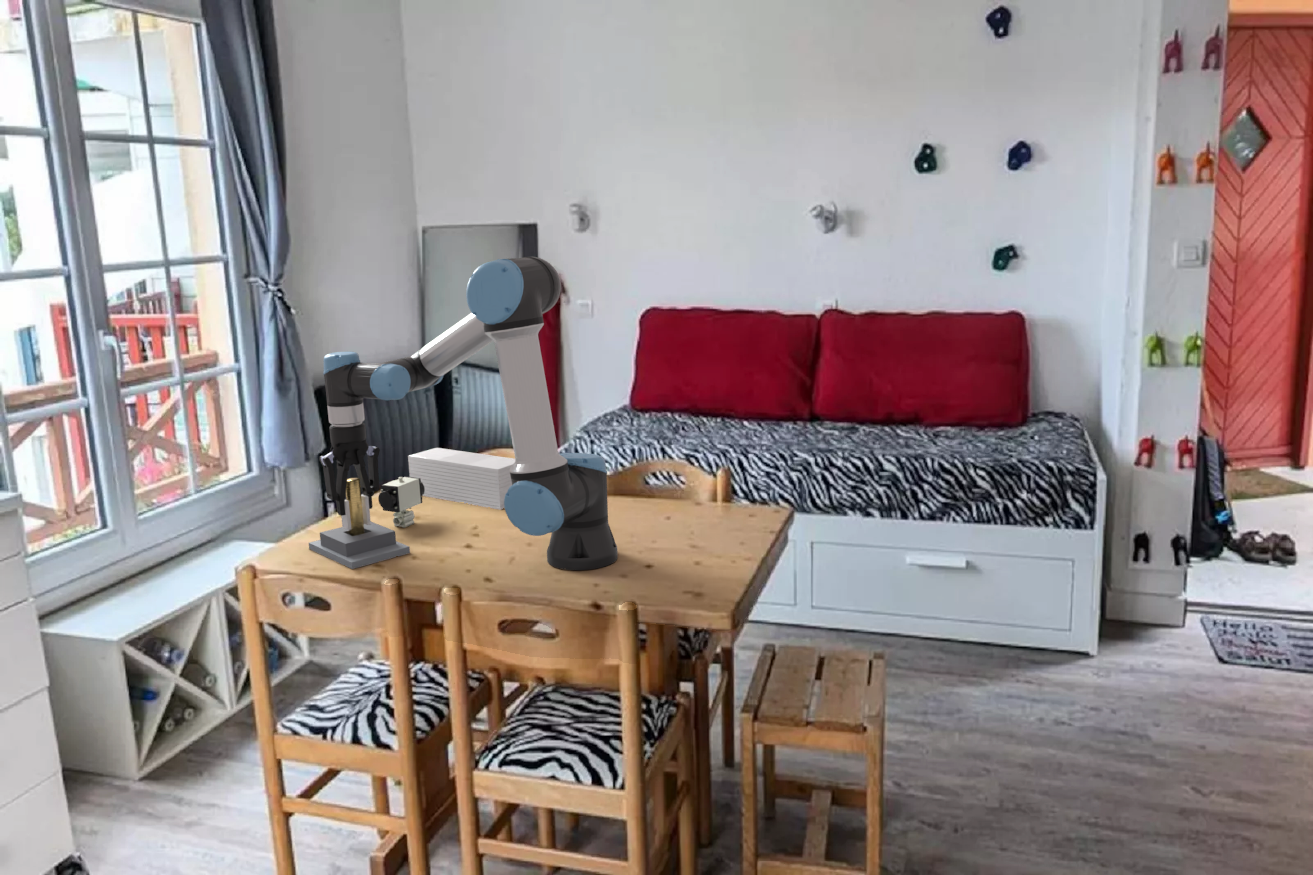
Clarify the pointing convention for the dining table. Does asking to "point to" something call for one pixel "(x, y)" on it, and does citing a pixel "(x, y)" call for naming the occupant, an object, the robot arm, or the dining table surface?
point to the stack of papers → (463, 476)
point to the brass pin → (355, 506)
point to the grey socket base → (359, 546)
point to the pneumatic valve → (401, 498)
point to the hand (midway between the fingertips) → (356, 525)
